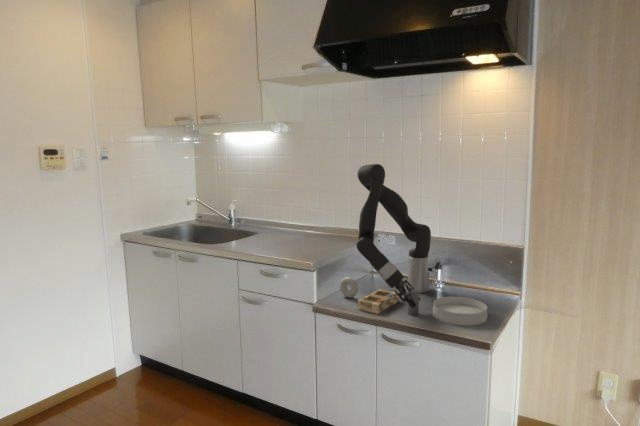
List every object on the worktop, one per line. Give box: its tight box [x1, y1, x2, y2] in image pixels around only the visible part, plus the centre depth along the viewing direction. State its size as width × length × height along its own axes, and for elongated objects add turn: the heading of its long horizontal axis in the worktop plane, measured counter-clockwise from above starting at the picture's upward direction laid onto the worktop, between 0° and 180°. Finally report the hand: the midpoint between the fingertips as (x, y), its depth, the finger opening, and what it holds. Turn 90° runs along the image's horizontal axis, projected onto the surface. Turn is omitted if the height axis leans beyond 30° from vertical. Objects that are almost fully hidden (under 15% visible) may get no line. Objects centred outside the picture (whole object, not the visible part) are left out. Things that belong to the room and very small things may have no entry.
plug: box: [407, 289, 420, 317], centre depth 198 cm, size 4×4×10 cm
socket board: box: [357, 288, 400, 315], centre depth 209 cm, size 20×10×4 cm, turn 145°
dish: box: [432, 296, 488, 326], centre depth 196 cm, size 22×22×5 cm
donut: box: [339, 276, 359, 299], centre depth 220 cm, size 10×3×10 cm, turn 50°
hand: (416, 303), depth 198 cm, fingers open, 7 cm apart
